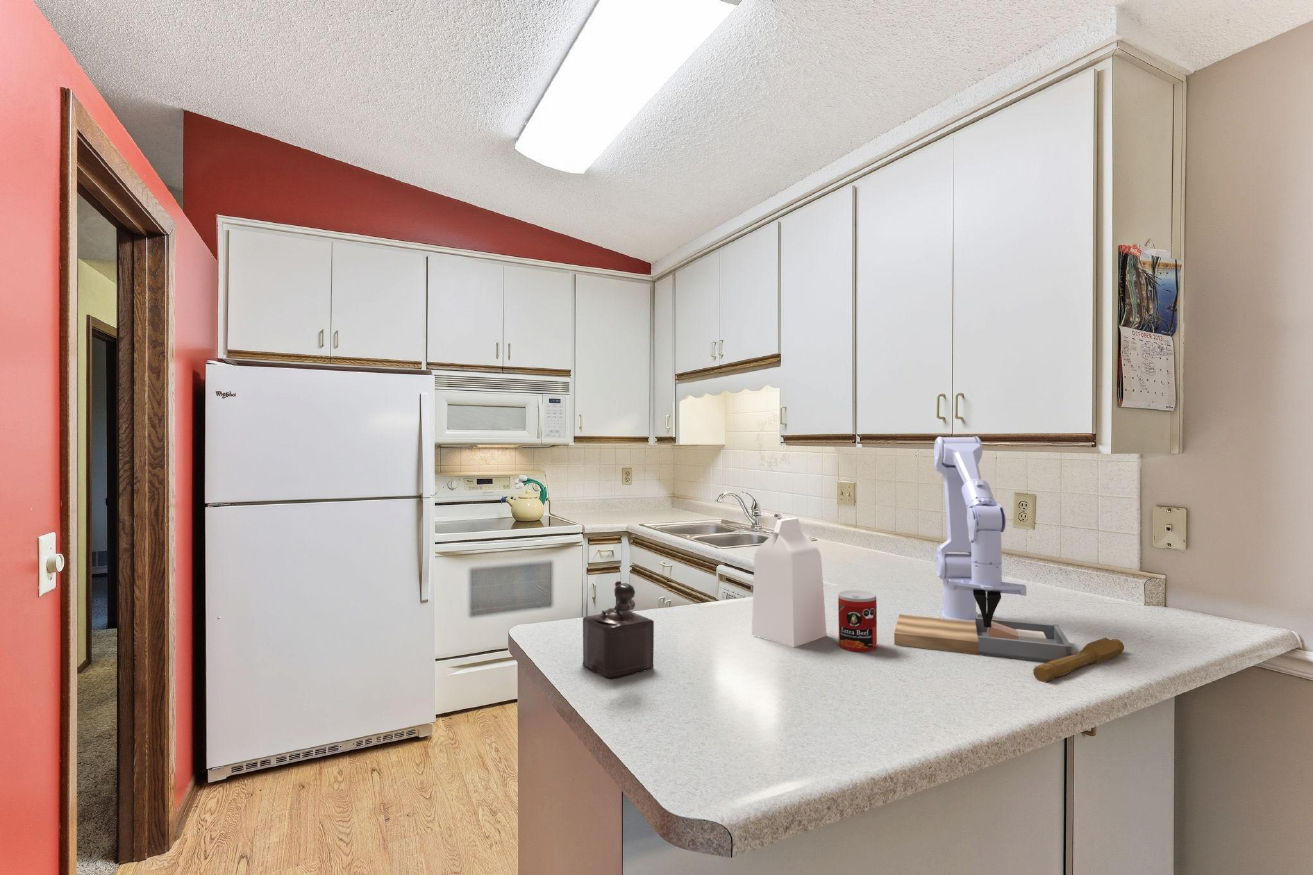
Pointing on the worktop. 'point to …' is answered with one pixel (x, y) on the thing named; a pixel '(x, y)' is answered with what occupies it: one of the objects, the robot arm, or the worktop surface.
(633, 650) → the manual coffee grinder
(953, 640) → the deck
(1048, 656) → the tray
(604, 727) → the worktop surface
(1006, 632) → the tile
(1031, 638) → the tile
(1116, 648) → the tap handle
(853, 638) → the canned food
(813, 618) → the milk
